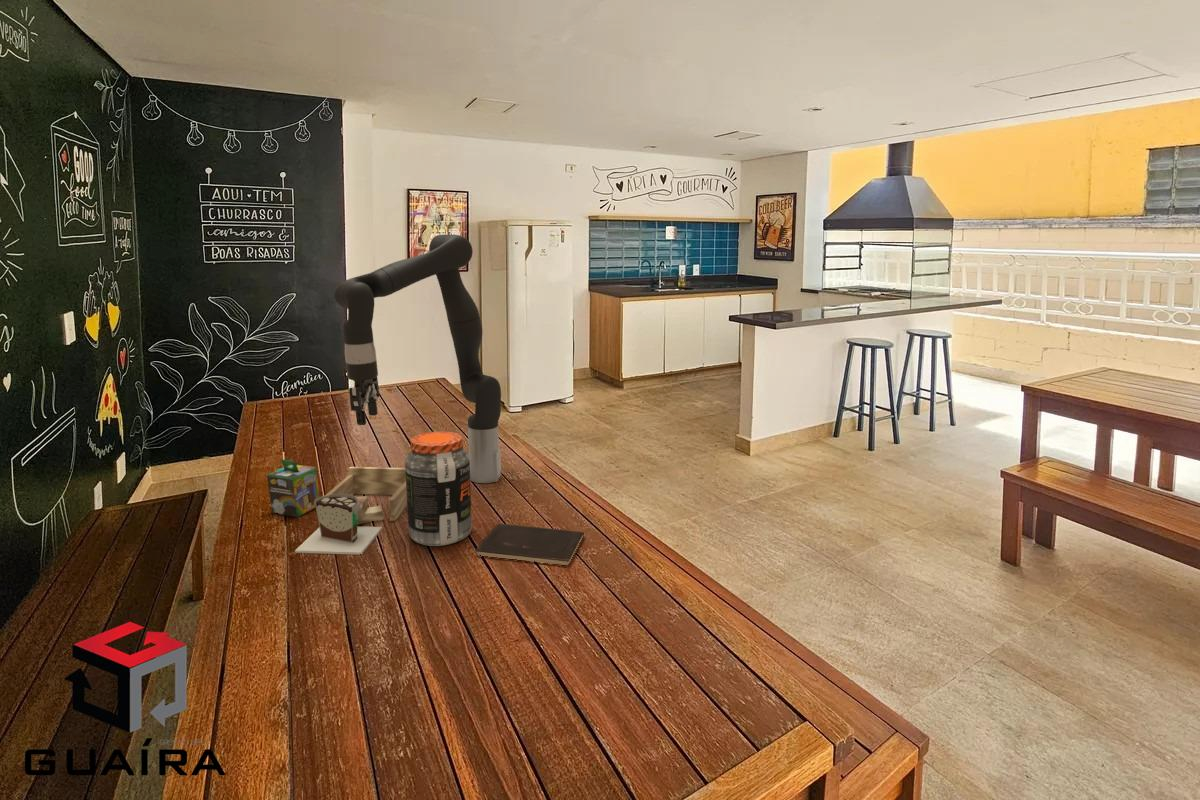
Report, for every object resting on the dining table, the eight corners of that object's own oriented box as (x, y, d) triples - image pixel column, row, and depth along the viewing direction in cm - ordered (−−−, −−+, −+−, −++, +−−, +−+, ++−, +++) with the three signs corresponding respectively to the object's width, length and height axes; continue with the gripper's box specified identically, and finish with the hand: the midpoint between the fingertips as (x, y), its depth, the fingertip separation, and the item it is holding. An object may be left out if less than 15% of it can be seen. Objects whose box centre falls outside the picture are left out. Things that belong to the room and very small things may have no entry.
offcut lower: (381, 515, 180) (380, 505, 179) (383, 521, 176) (382, 511, 176) (334, 523, 175) (333, 513, 174) (335, 529, 171) (334, 519, 170)
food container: (373, 533, 167) (370, 496, 164) (357, 544, 161) (354, 506, 158) (333, 526, 170) (330, 490, 168) (316, 536, 165) (312, 499, 162)
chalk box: (321, 505, 185) (317, 455, 181) (297, 518, 176) (291, 466, 173) (295, 501, 188) (290, 451, 184) (270, 513, 179) (264, 462, 176)
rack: (416, 493, 194) (415, 468, 192) (394, 521, 175) (392, 493, 173) (352, 492, 194) (350, 466, 192) (323, 519, 176) (321, 491, 174)
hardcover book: (568, 569, 153) (568, 560, 152) (475, 558, 157) (475, 550, 156) (584, 539, 168) (584, 530, 167) (498, 530, 172) (498, 522, 172)
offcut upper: (353, 507, 178) (352, 496, 177) (368, 506, 178) (367, 496, 178) (345, 519, 170) (344, 508, 170) (361, 518, 171) (360, 508, 170)
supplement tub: (475, 544, 163) (471, 445, 157) (409, 552, 159) (403, 450, 152) (469, 518, 178) (465, 426, 171) (408, 525, 173) (402, 431, 167)
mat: (382, 529, 171) (381, 527, 170) (361, 554, 157) (361, 552, 157) (321, 527, 171) (321, 525, 171) (295, 552, 157) (295, 550, 157)
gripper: (365, 365, 162) (372, 428, 167) (384, 354, 176) (390, 412, 181) (335, 365, 163) (343, 428, 167) (356, 354, 176) (363, 412, 181)
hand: (367, 419), depth 174 cm, fingers open, 8 cm apart
